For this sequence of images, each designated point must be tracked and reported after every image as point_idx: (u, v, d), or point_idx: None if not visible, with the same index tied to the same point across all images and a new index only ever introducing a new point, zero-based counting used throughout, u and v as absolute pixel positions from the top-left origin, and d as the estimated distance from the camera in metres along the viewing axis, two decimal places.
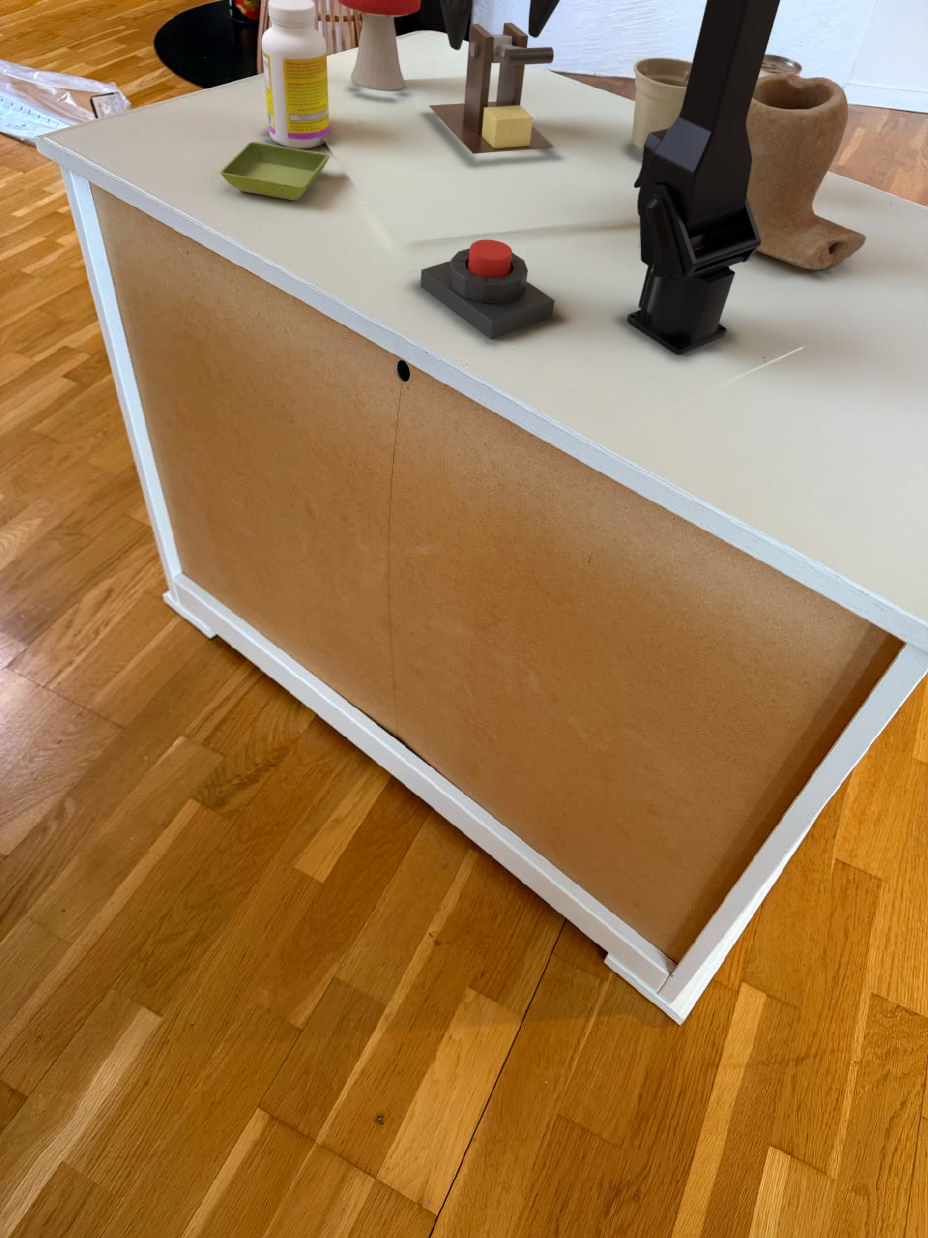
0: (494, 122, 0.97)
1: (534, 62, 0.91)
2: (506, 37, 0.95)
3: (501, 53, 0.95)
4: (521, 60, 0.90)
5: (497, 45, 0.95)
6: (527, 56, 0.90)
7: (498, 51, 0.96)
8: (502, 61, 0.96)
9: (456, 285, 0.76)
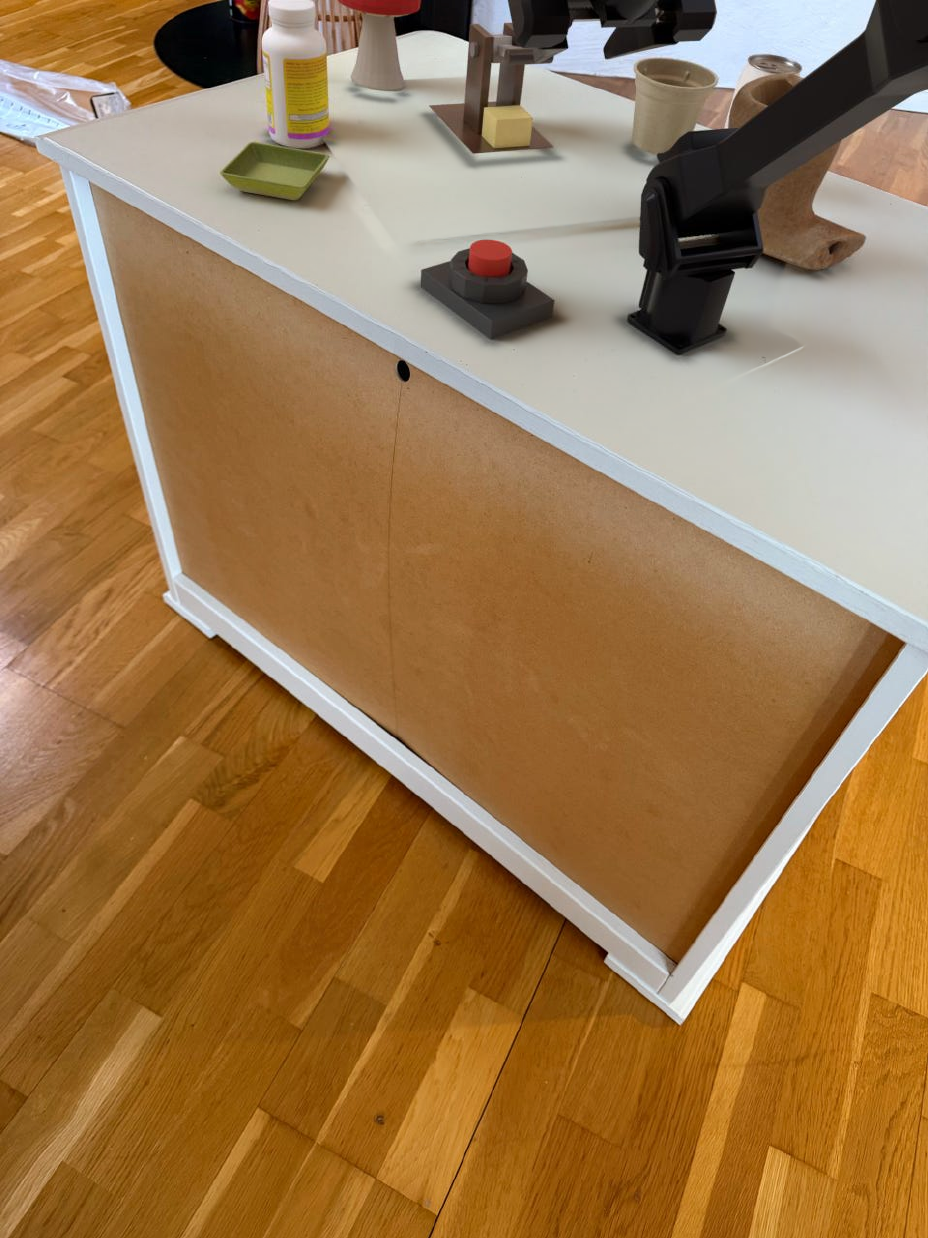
0: (494, 122, 0.97)
1: (534, 62, 0.91)
2: (506, 37, 0.95)
3: (501, 53, 0.95)
4: (521, 60, 0.90)
5: (497, 45, 0.95)
6: (527, 56, 0.90)
7: (498, 51, 0.96)
8: (502, 61, 0.96)
9: (456, 285, 0.76)
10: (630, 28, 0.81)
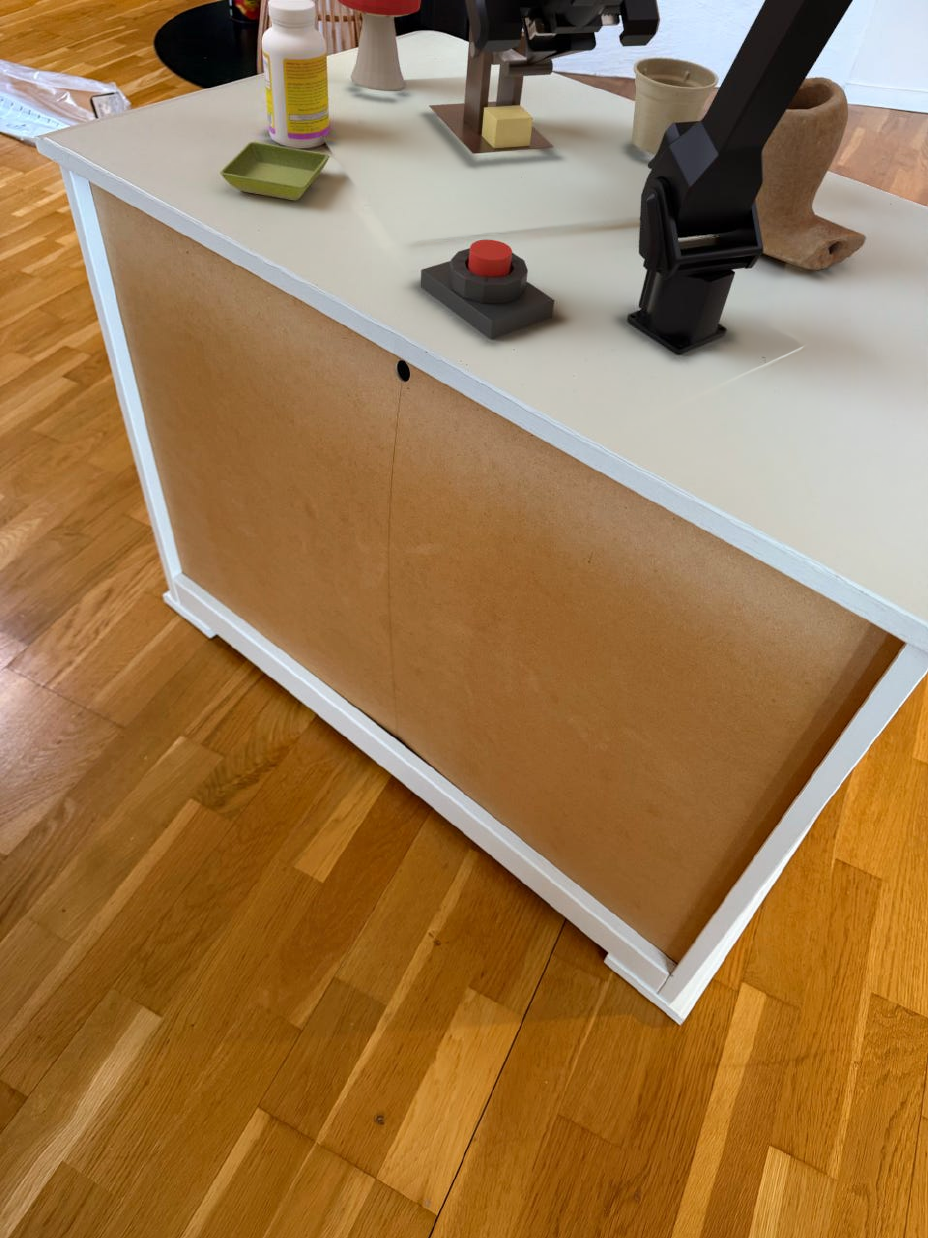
0: (494, 122, 0.97)
1: (533, 74, 0.92)
2: None
3: (501, 56, 0.95)
4: (520, 72, 0.91)
5: None
6: (526, 69, 0.91)
7: (498, 53, 0.96)
8: (501, 63, 0.97)
9: (456, 285, 0.76)
10: None
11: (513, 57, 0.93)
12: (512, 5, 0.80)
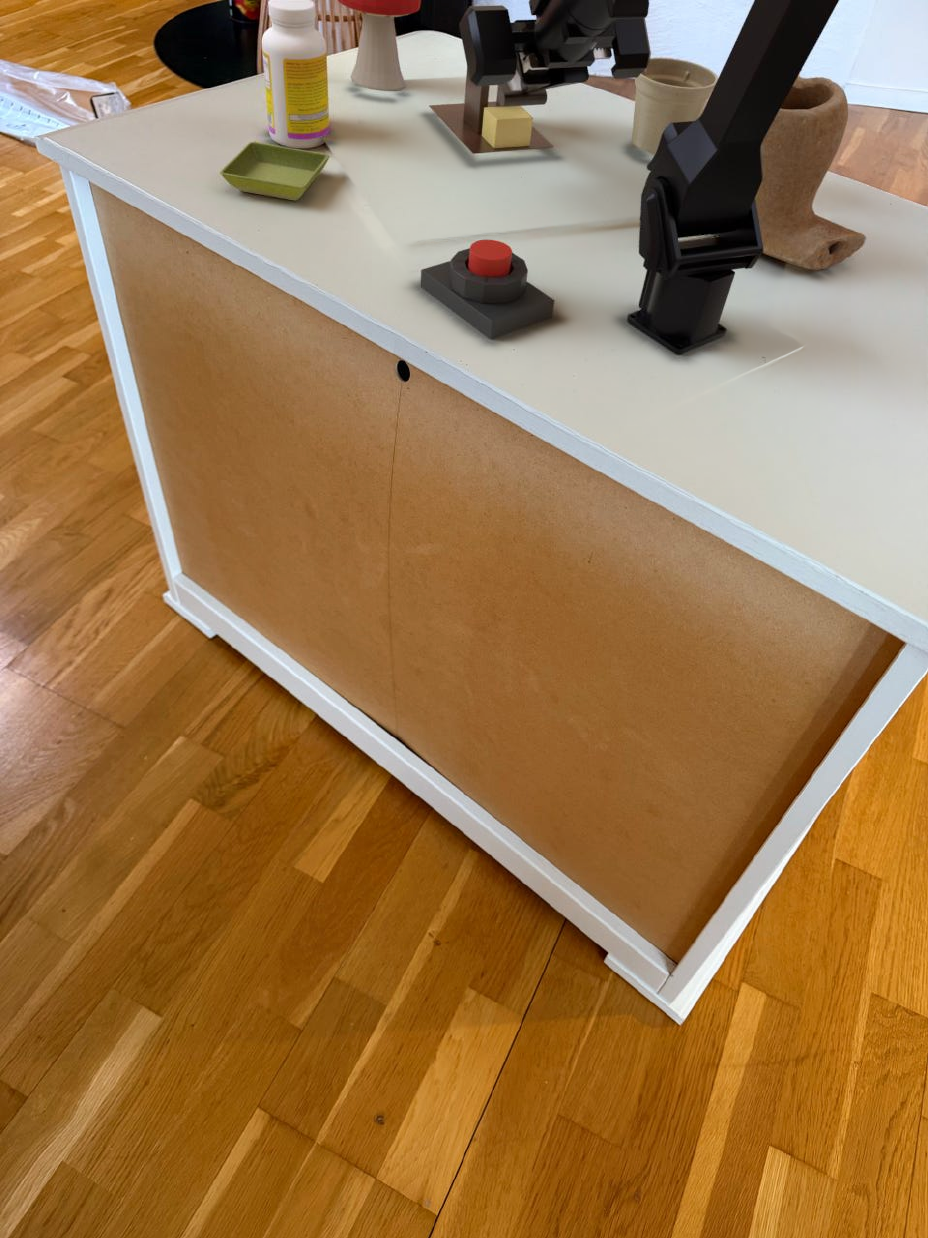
0: (494, 122, 0.97)
1: None
2: None
3: None
4: (515, 105, 0.94)
5: None
6: (521, 102, 0.94)
7: None
8: None
9: (456, 285, 0.76)
10: None
11: None
12: (507, 41, 0.82)
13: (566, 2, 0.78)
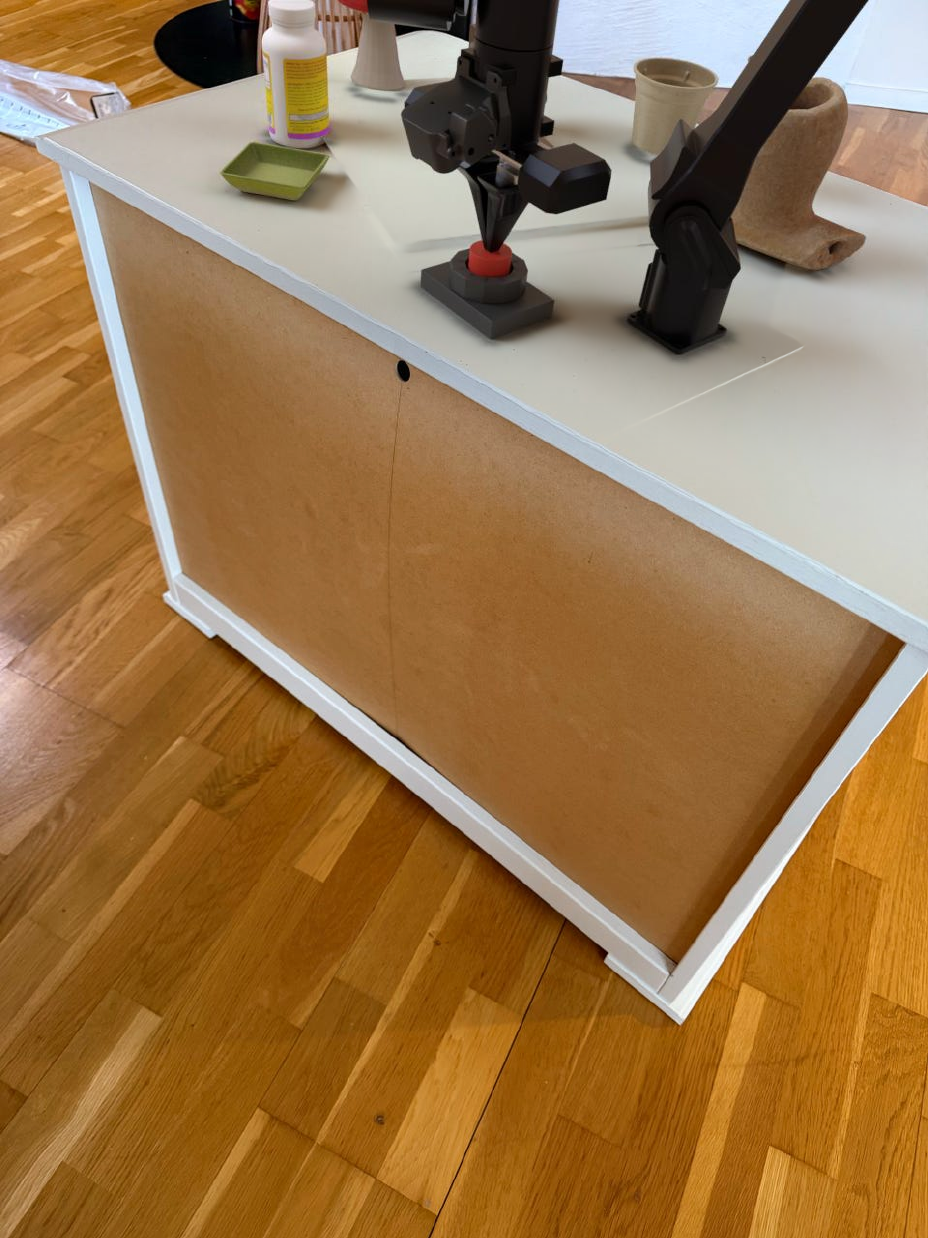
0: None
1: None
2: None
3: None
4: None
5: None
6: None
7: None
8: None
9: (456, 285, 0.76)
10: None
11: None
12: (565, 150, 0.65)
13: (520, 47, 0.61)
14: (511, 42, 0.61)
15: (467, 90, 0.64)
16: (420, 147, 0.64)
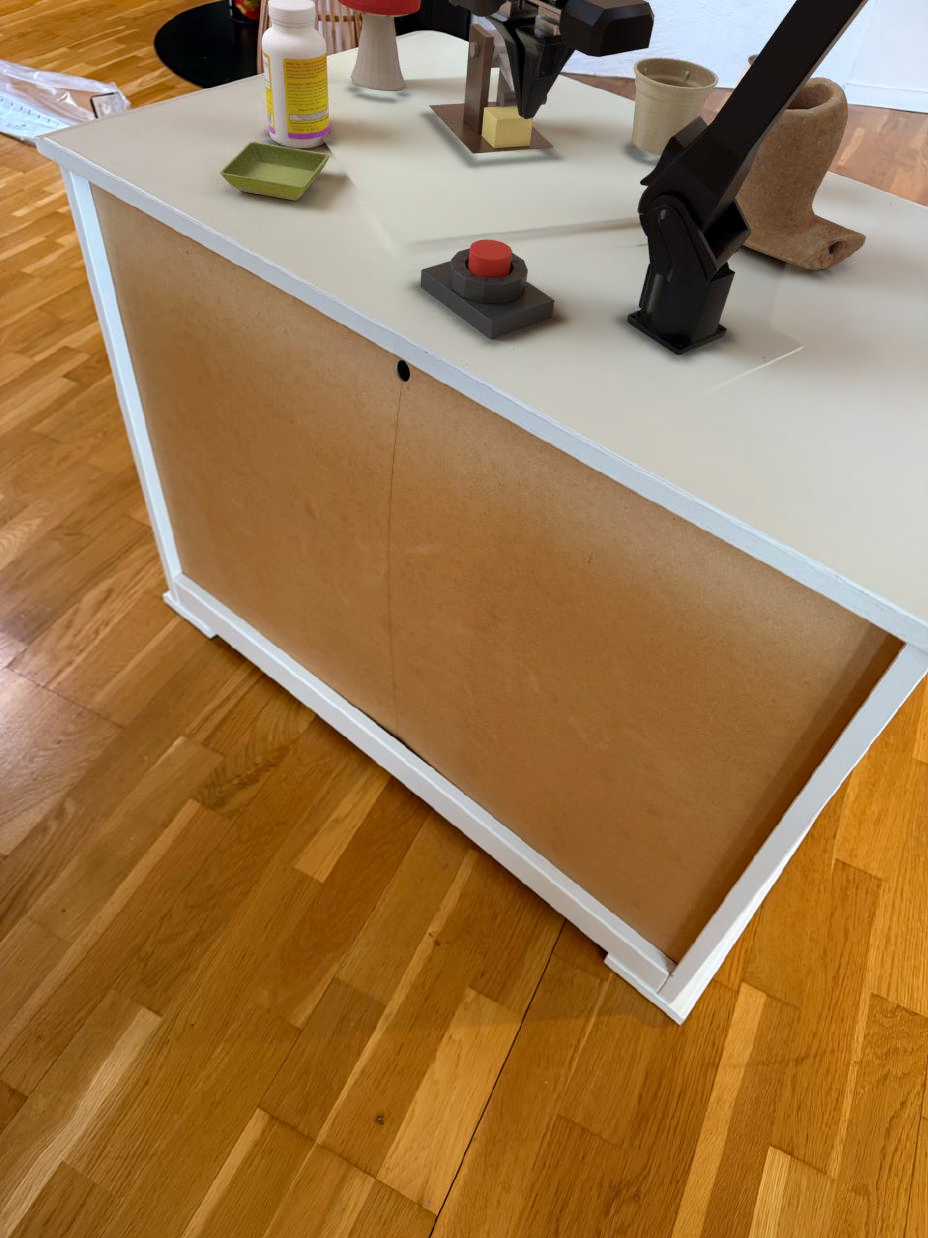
0: (494, 122, 0.97)
1: None
2: None
3: (499, 65, 0.96)
4: (514, 105, 0.94)
5: (497, 53, 0.96)
6: None
7: (497, 58, 0.96)
8: None
9: (456, 285, 0.76)
10: None
11: (510, 78, 0.95)
12: None
13: None
14: None
15: None
16: None
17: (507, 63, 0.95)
